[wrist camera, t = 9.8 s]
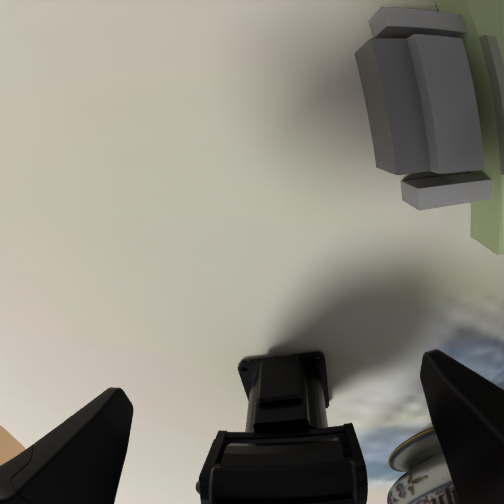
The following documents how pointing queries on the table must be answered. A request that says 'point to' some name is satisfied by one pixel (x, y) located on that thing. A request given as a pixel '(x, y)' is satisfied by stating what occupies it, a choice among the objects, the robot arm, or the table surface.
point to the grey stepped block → (421, 104)
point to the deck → (488, 102)
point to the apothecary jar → (421, 472)
